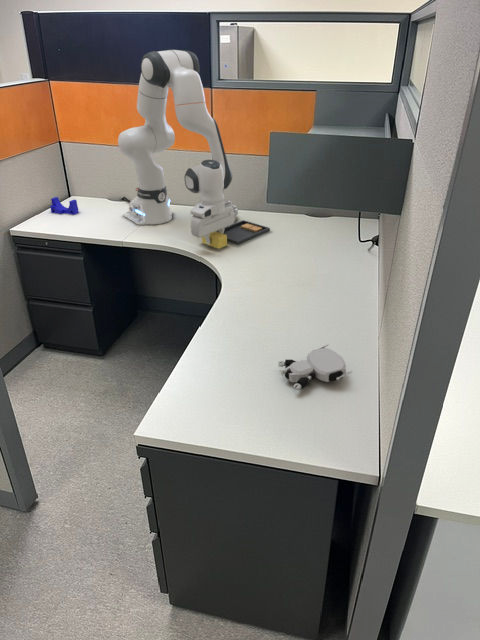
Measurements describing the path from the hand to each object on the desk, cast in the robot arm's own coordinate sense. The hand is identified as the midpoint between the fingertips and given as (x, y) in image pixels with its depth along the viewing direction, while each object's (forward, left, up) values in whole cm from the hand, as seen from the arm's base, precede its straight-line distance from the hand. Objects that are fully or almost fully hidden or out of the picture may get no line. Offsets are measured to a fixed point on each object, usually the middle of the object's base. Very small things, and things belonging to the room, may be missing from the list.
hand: (214, 241), depth 192 cm
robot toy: (+76, -43, -2) cm, 87 cm away
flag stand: (-17, +23, -2) cm, 29 cm away
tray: (0, +15, -2) cm, 16 cm away
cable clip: (-80, -16, -2) cm, 82 cm away
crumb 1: (-2, +22, -1) cm, 22 cm away
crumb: (+2, +22, -1) cm, 22 cm away
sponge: (0, 0, -2) cm, 2 cm away
